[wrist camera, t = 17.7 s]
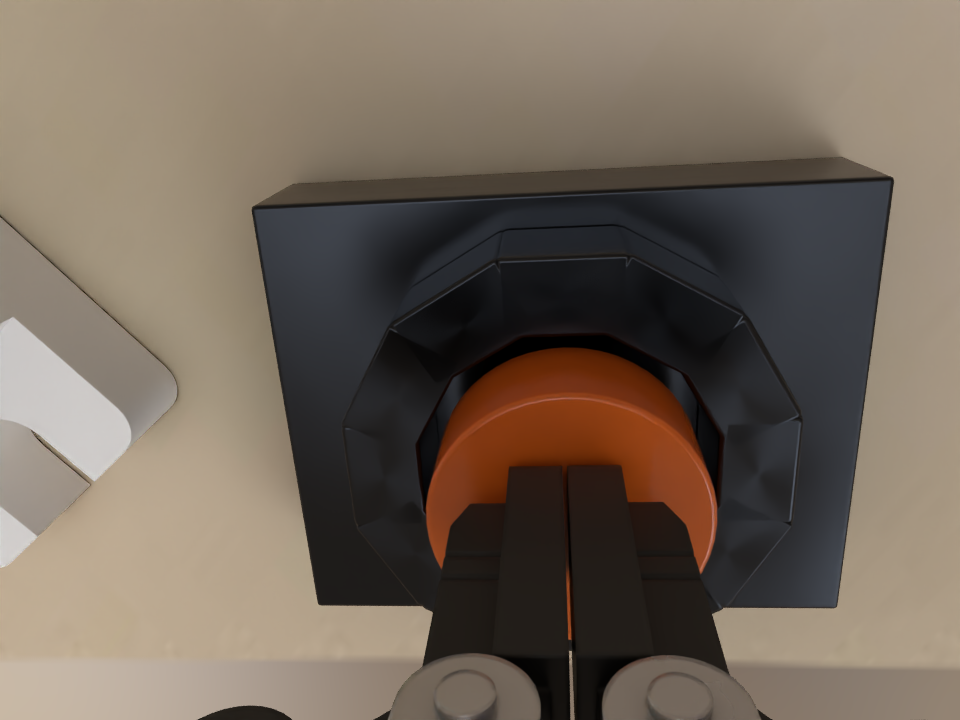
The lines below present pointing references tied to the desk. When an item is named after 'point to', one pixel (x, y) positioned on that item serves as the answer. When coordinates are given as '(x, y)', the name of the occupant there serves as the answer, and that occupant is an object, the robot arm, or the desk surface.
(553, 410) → the button
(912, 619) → the desk surface
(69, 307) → the white mounting bracket
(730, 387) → the button housing
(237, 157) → the desk surface
